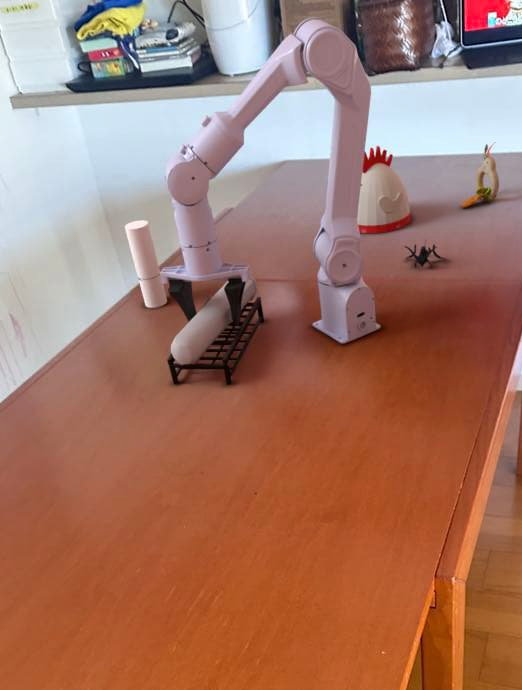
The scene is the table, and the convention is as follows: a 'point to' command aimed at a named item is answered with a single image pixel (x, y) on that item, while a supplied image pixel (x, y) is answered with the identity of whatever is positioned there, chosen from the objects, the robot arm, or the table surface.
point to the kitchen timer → (381, 196)
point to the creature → (423, 255)
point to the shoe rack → (233, 344)
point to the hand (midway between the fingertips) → (215, 322)
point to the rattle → (482, 192)
